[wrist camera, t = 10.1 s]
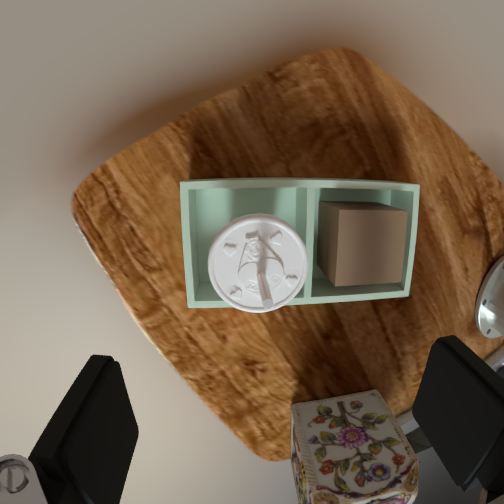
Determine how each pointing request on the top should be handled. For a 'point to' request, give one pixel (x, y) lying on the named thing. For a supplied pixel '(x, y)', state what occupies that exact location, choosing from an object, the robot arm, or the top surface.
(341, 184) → the tote
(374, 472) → the decorative jar
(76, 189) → the top surface
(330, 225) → the walnut block
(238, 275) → the white cup
